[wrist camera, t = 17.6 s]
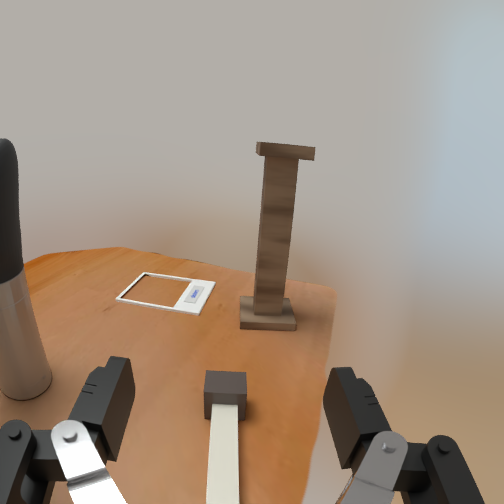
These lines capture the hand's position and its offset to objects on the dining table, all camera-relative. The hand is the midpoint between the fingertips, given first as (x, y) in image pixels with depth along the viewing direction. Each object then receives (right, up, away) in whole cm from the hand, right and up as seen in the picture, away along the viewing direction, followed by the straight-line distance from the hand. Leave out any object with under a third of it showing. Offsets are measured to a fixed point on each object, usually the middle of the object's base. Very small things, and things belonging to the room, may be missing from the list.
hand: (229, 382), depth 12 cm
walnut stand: (+4, -8, +49) cm, 50 cm away
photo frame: (-17, -4, +56) cm, 59 cm away
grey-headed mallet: (-2, -18, +20) cm, 27 cm away
